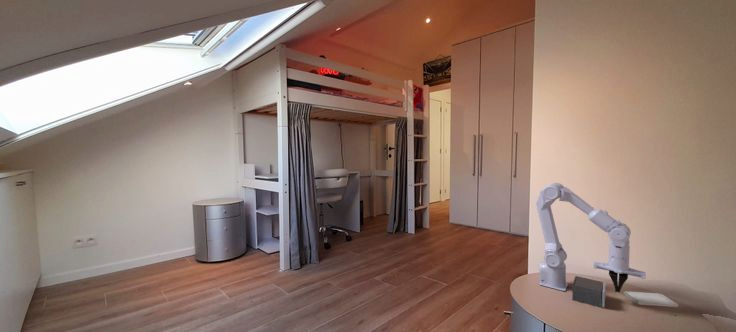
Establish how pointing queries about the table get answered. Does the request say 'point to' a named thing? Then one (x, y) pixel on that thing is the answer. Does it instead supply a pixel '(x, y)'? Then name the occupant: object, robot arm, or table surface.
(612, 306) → the table surface
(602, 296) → the tray
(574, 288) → the player housing
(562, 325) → the table surface
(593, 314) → the table surface
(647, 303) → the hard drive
